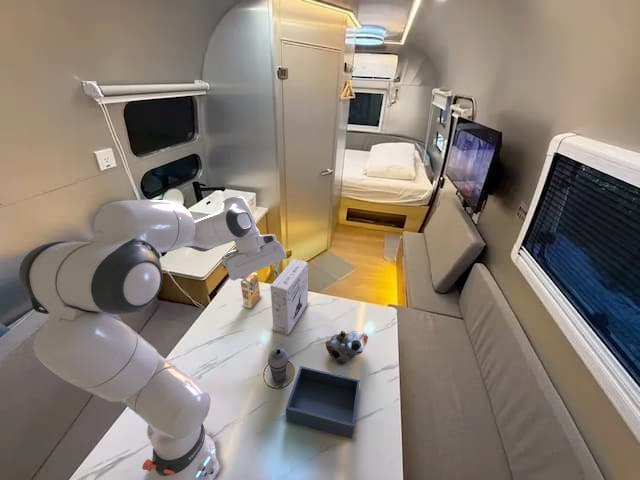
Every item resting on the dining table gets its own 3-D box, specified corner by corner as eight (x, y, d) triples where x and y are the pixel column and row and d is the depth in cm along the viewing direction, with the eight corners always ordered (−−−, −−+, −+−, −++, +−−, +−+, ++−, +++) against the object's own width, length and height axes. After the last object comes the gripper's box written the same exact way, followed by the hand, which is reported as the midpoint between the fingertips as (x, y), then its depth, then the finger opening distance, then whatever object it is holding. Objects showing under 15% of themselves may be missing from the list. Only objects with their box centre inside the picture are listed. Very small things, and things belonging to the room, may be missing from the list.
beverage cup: (285, 391, 97) (284, 353, 88) (266, 387, 99) (262, 349, 89) (291, 373, 104) (290, 336, 94) (273, 369, 105) (270, 332, 95)
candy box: (250, 308, 133) (247, 283, 125) (243, 306, 134) (240, 281, 127) (260, 297, 140) (258, 273, 133) (253, 295, 141) (250, 271, 134)
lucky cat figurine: (343, 332, 122) (361, 316, 114) (358, 357, 116) (378, 342, 109) (319, 343, 111) (337, 325, 104) (335, 371, 105) (355, 354, 98)
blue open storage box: (352, 439, 85) (354, 427, 82) (286, 420, 89) (285, 408, 86) (357, 392, 98) (359, 379, 95) (300, 377, 102) (300, 365, 99)
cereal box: (288, 335, 120) (286, 290, 107) (273, 329, 122) (270, 285, 110) (307, 303, 137) (308, 262, 125) (294, 299, 140) (293, 258, 127)
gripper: (219, 256, 86) (236, 296, 88) (279, 233, 92) (293, 270, 95) (219, 255, 92) (234, 292, 94) (275, 233, 98) (289, 268, 101)
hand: (264, 281), depth 94 cm, fingers open, 8 cm apart
